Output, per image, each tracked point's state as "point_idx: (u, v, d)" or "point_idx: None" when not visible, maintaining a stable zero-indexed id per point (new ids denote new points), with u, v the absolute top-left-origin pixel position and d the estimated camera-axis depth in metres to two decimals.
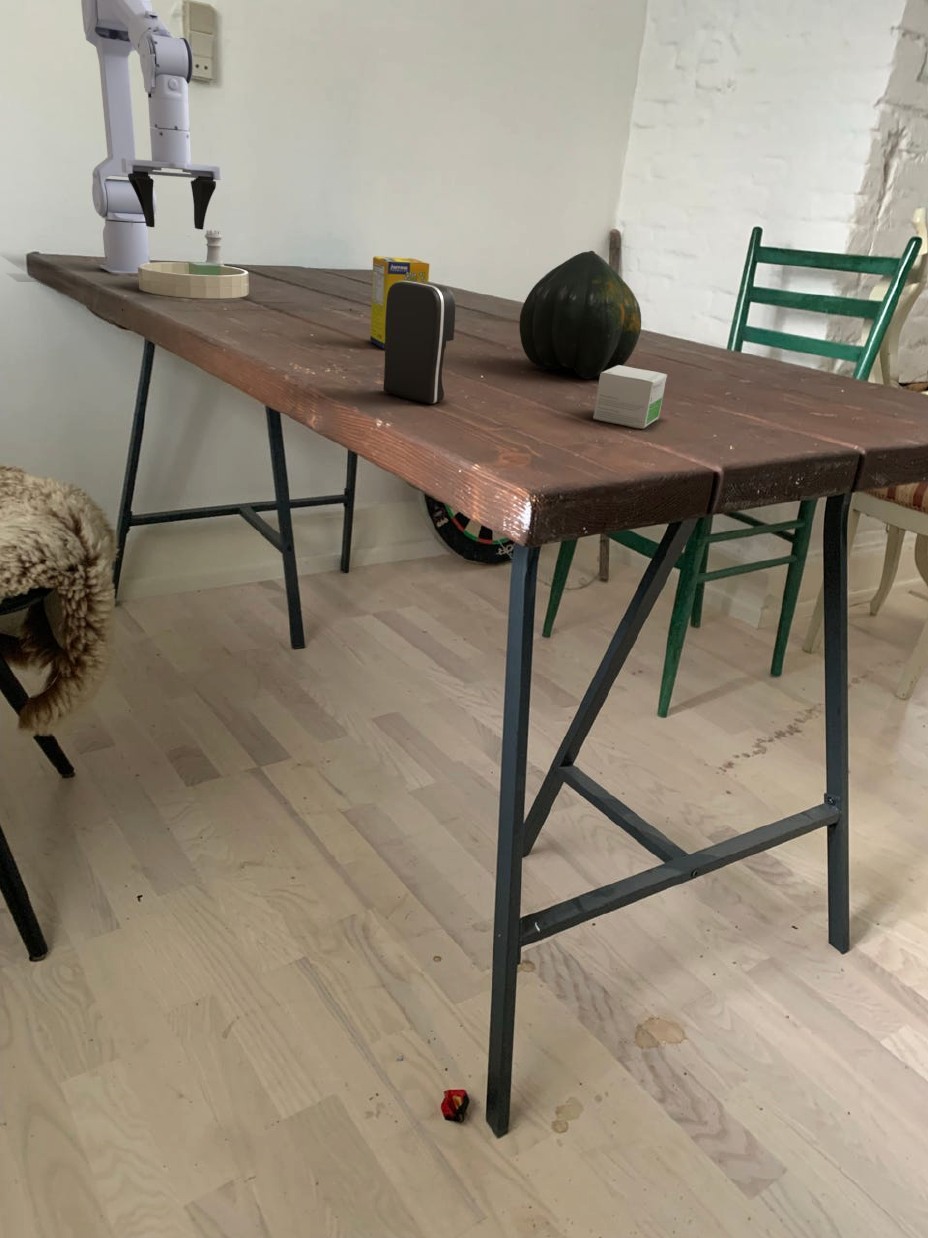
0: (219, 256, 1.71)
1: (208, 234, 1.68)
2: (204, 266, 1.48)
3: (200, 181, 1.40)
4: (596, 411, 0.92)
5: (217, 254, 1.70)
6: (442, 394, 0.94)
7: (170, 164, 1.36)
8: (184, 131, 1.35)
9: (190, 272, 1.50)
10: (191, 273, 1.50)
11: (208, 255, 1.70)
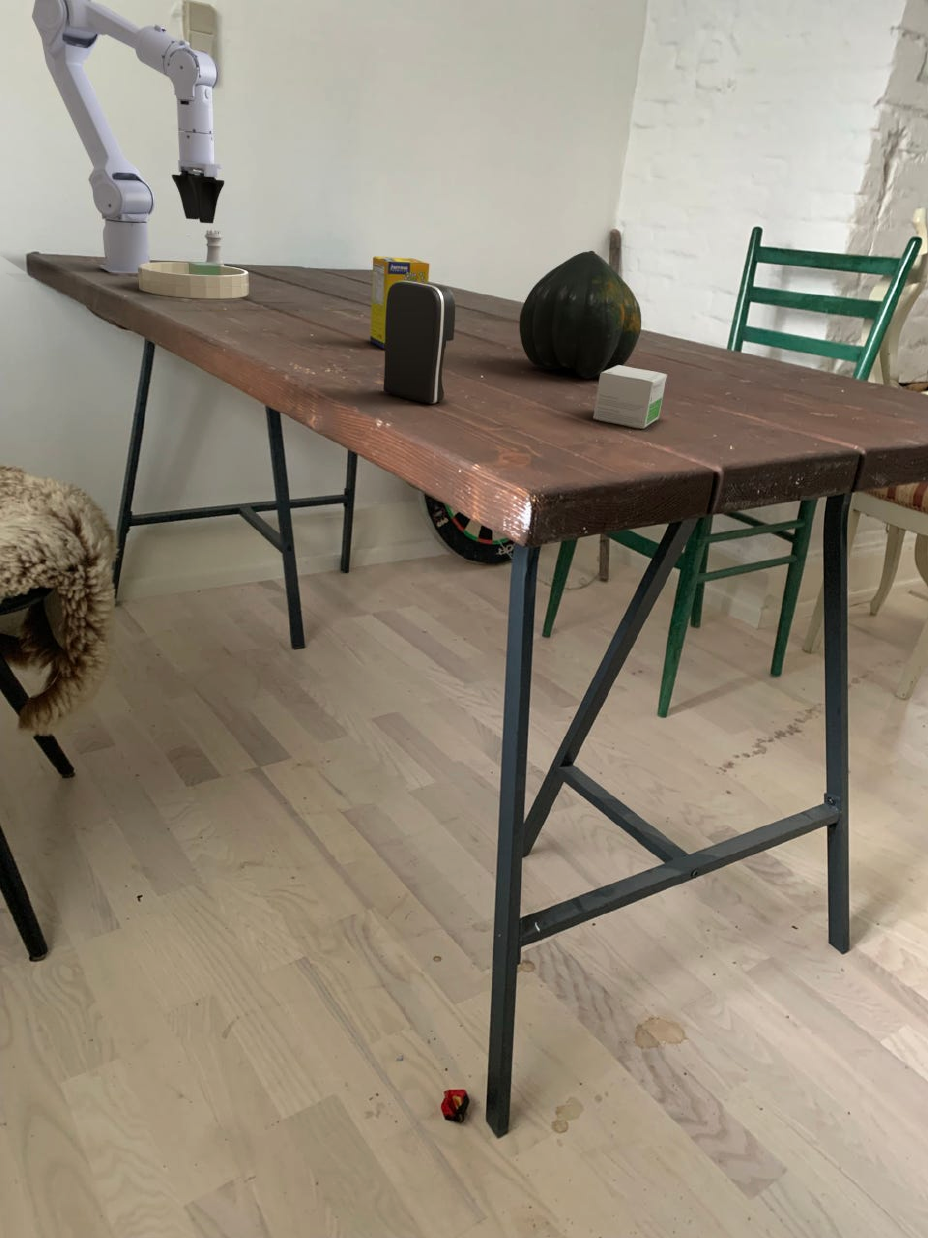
0: (219, 256, 1.71)
1: (208, 234, 1.68)
2: (204, 266, 1.48)
3: None
4: (596, 411, 0.92)
5: (217, 254, 1.70)
6: (442, 394, 0.94)
7: (216, 165, 1.55)
8: None
9: (190, 272, 1.50)
10: (191, 273, 1.50)
11: (208, 255, 1.70)
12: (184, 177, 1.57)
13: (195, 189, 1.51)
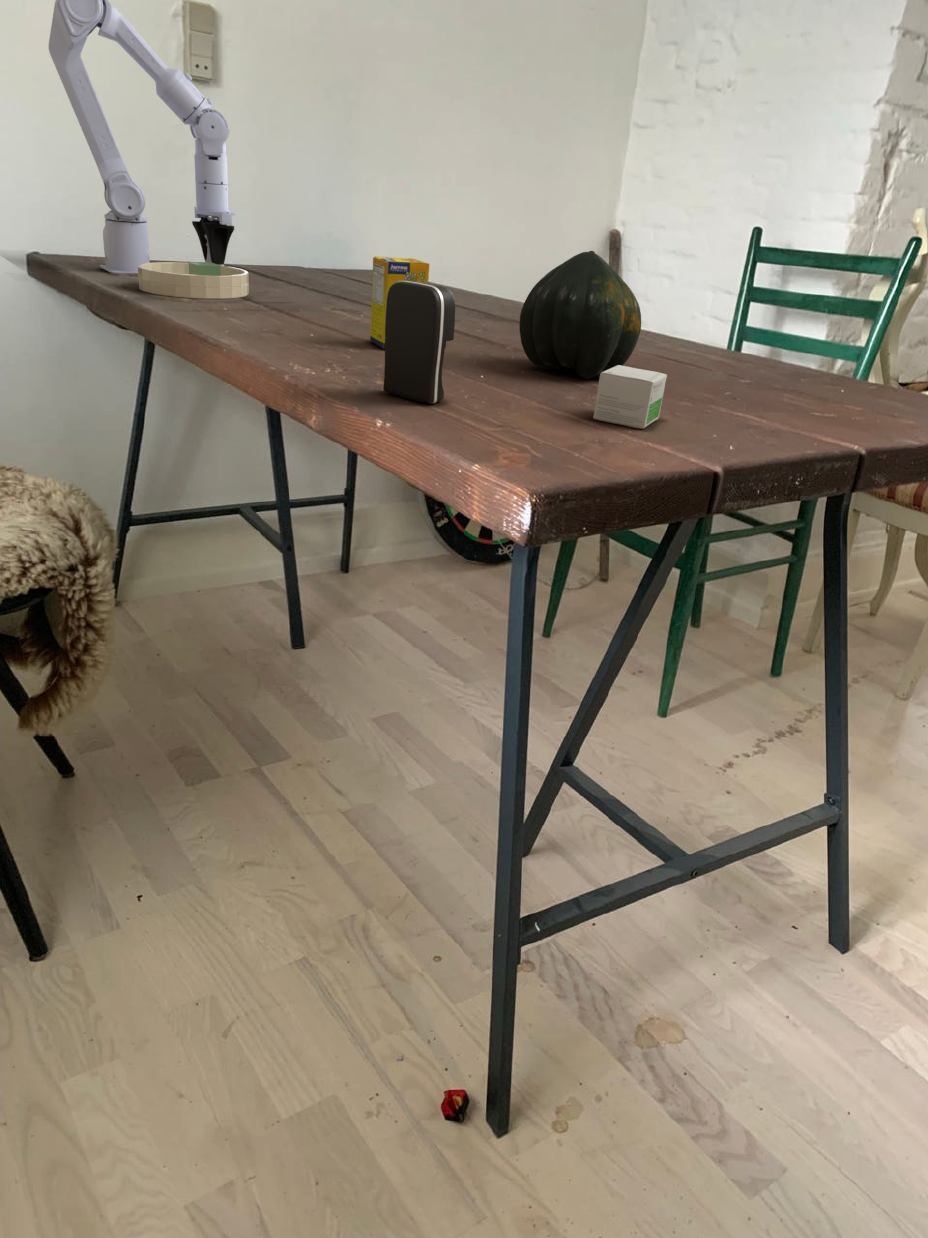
0: None
1: None
2: (204, 266, 1.48)
3: None
4: (596, 411, 0.92)
5: None
6: (442, 394, 0.94)
7: (230, 212, 1.69)
8: None
9: (190, 272, 1.50)
10: (191, 273, 1.50)
11: (208, 255, 1.70)
12: None
13: (208, 234, 1.66)
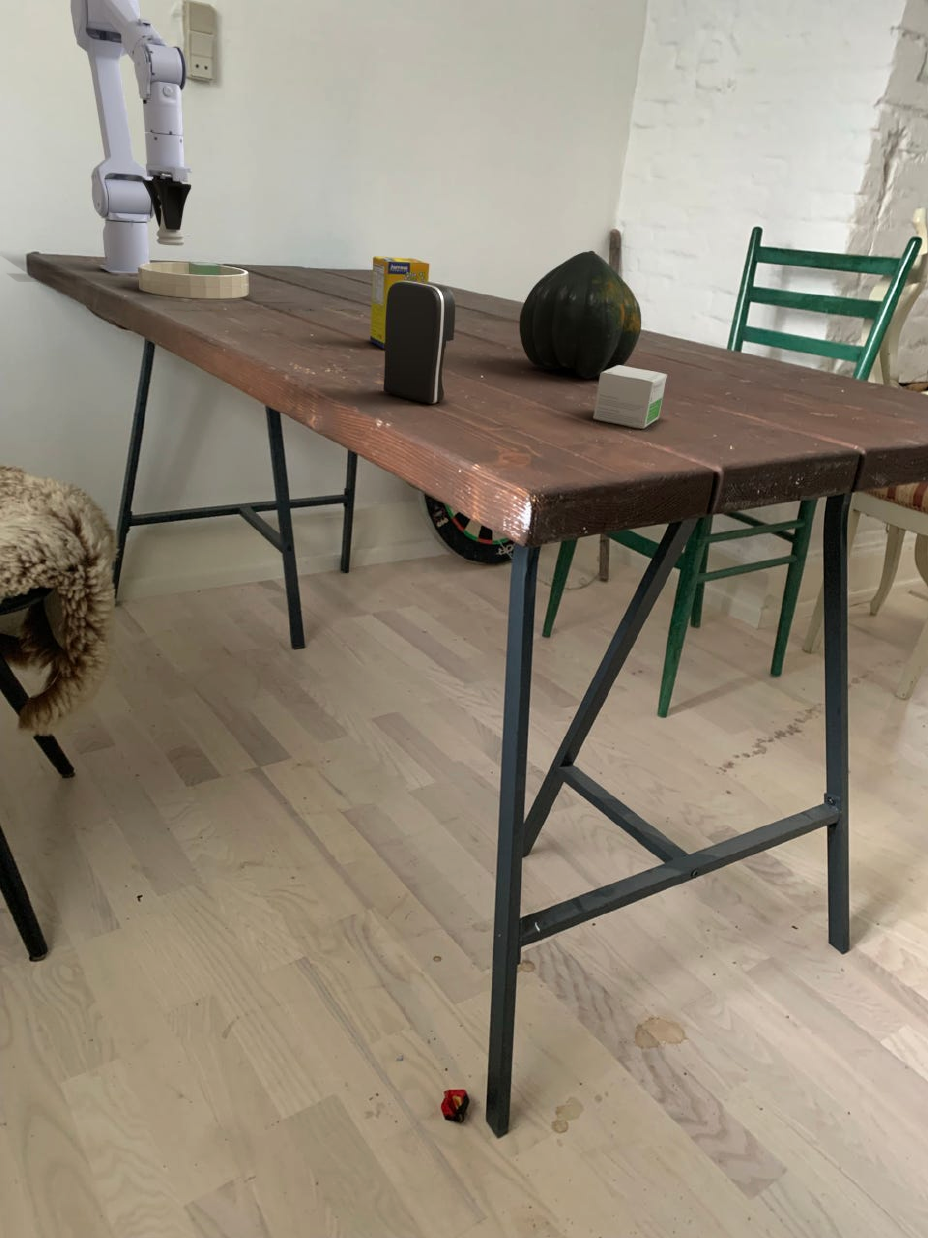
0: None
1: None
2: (204, 266, 1.48)
3: None
4: (596, 411, 0.92)
5: None
6: (442, 394, 0.94)
7: (187, 169, 1.45)
8: None
9: (190, 272, 1.50)
10: (191, 273, 1.50)
11: (162, 219, 1.47)
12: None
13: (160, 194, 1.42)
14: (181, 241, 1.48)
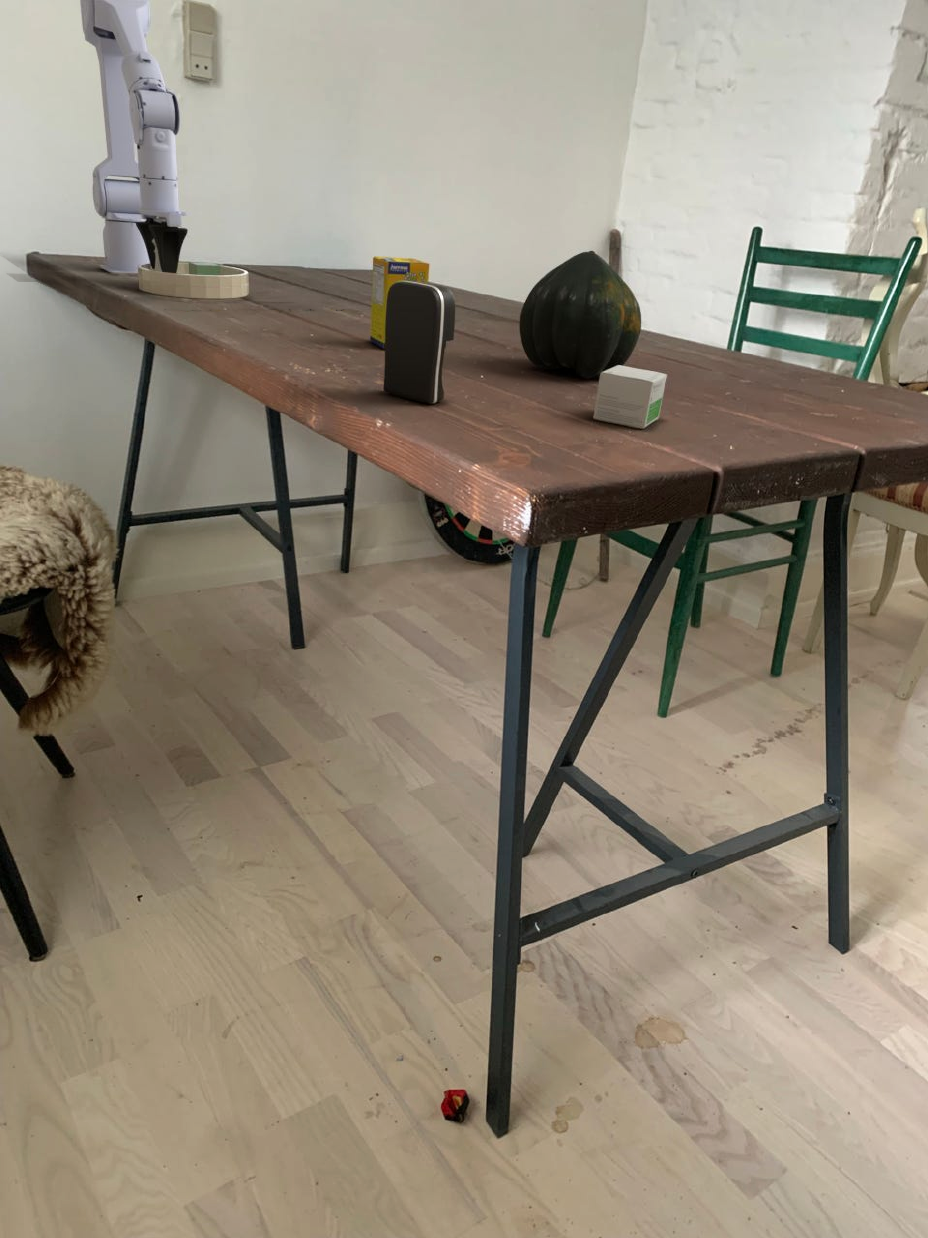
0: None
1: None
2: (204, 266, 1.48)
3: None
4: (596, 411, 0.92)
5: None
6: (442, 394, 0.94)
7: (181, 212, 1.44)
8: None
9: (190, 272, 1.50)
10: (191, 273, 1.50)
11: (156, 263, 1.46)
12: (149, 225, 1.46)
13: (156, 239, 1.41)
14: None
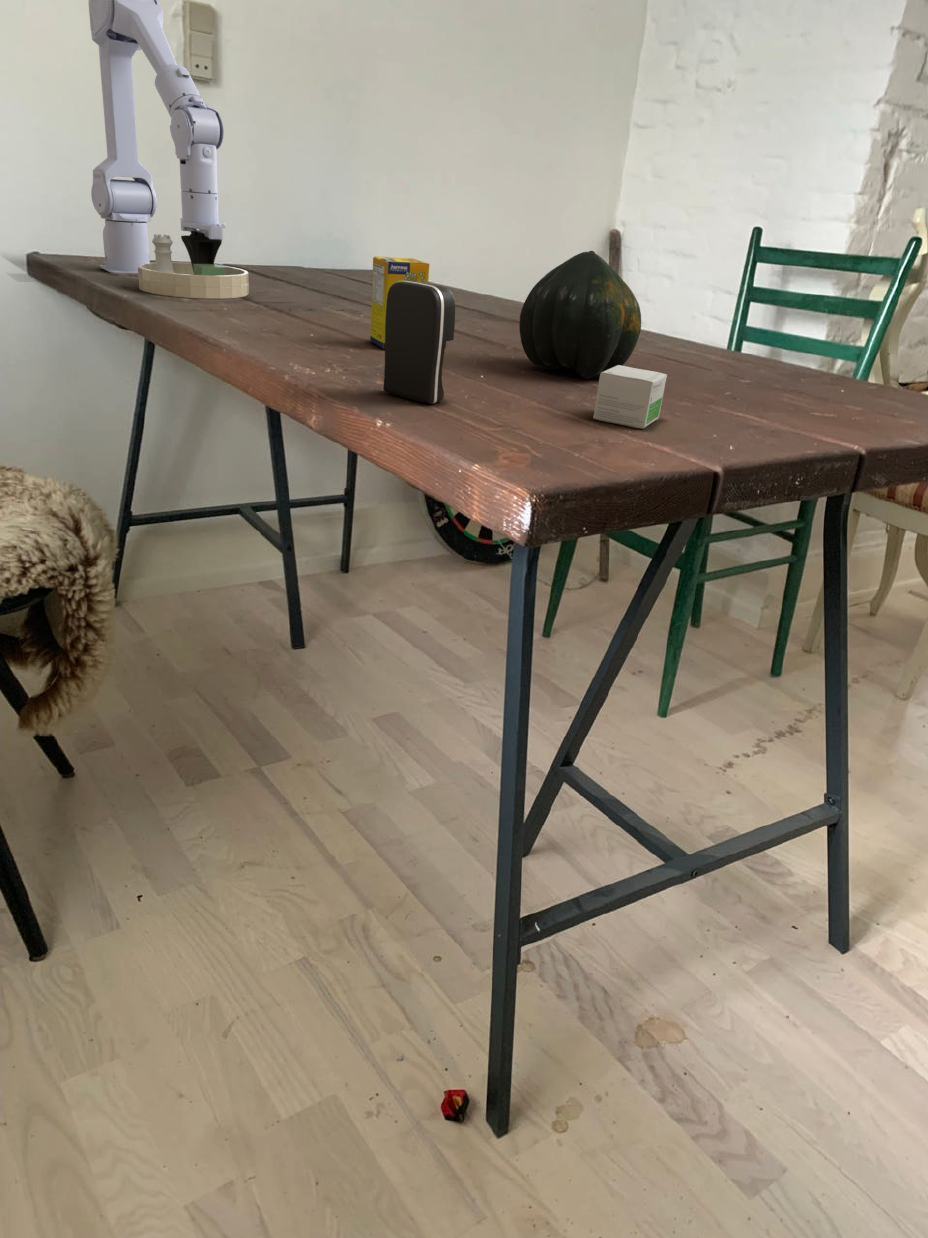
0: (169, 264, 1.47)
1: (156, 239, 1.45)
2: (209, 268, 1.46)
3: None
4: (596, 411, 0.92)
5: (167, 263, 1.46)
6: (442, 394, 0.94)
7: (221, 225, 1.49)
8: None
9: (195, 274, 1.49)
10: None
11: (156, 263, 1.46)
12: None
13: (192, 249, 1.47)
14: None
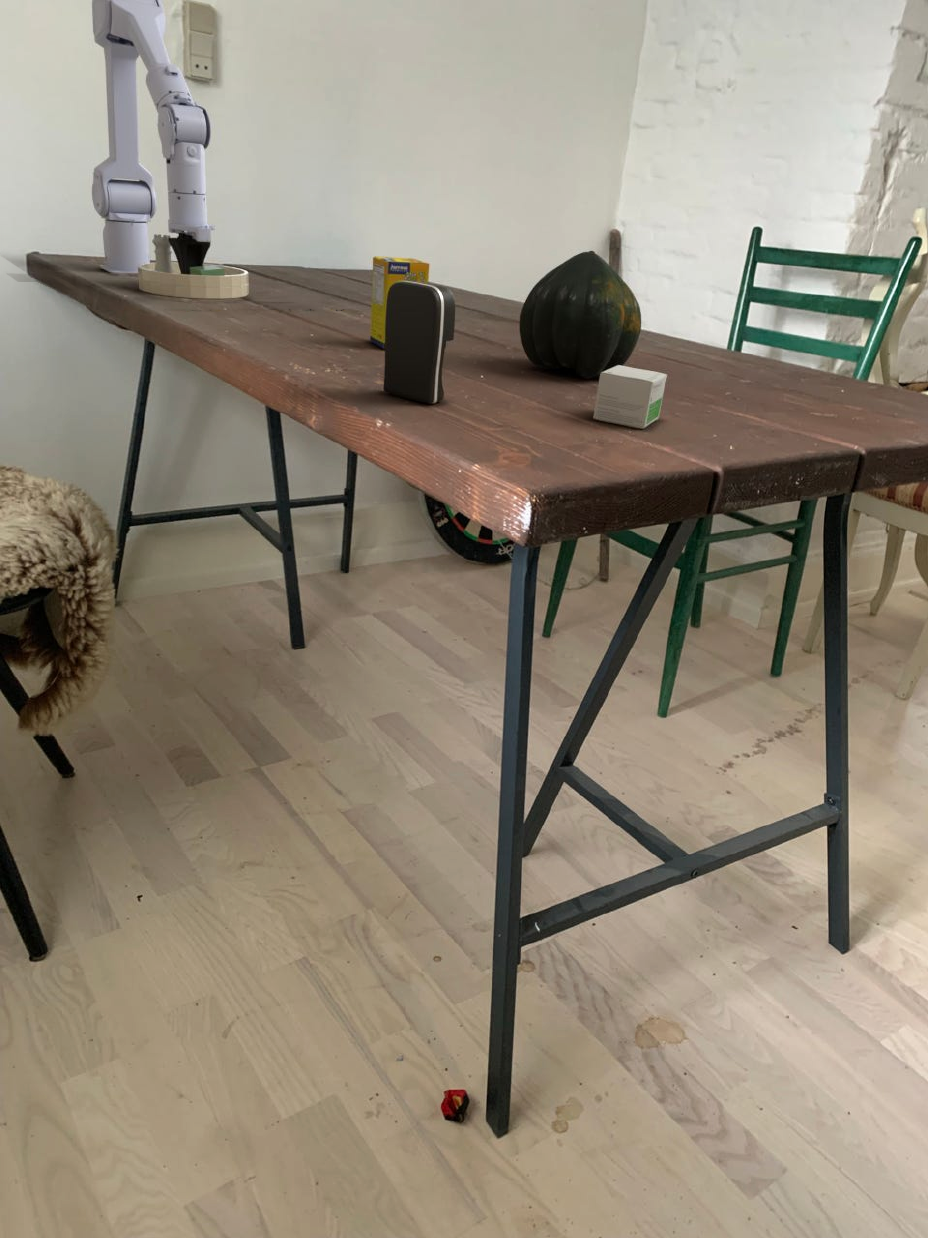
0: (169, 264, 1.47)
1: (156, 239, 1.45)
2: (208, 271, 1.42)
3: None
4: (596, 411, 0.92)
5: (167, 263, 1.46)
6: (442, 394, 0.94)
7: (209, 227, 1.44)
8: None
9: None
10: None
11: (156, 263, 1.46)
12: None
13: (179, 252, 1.42)
14: None
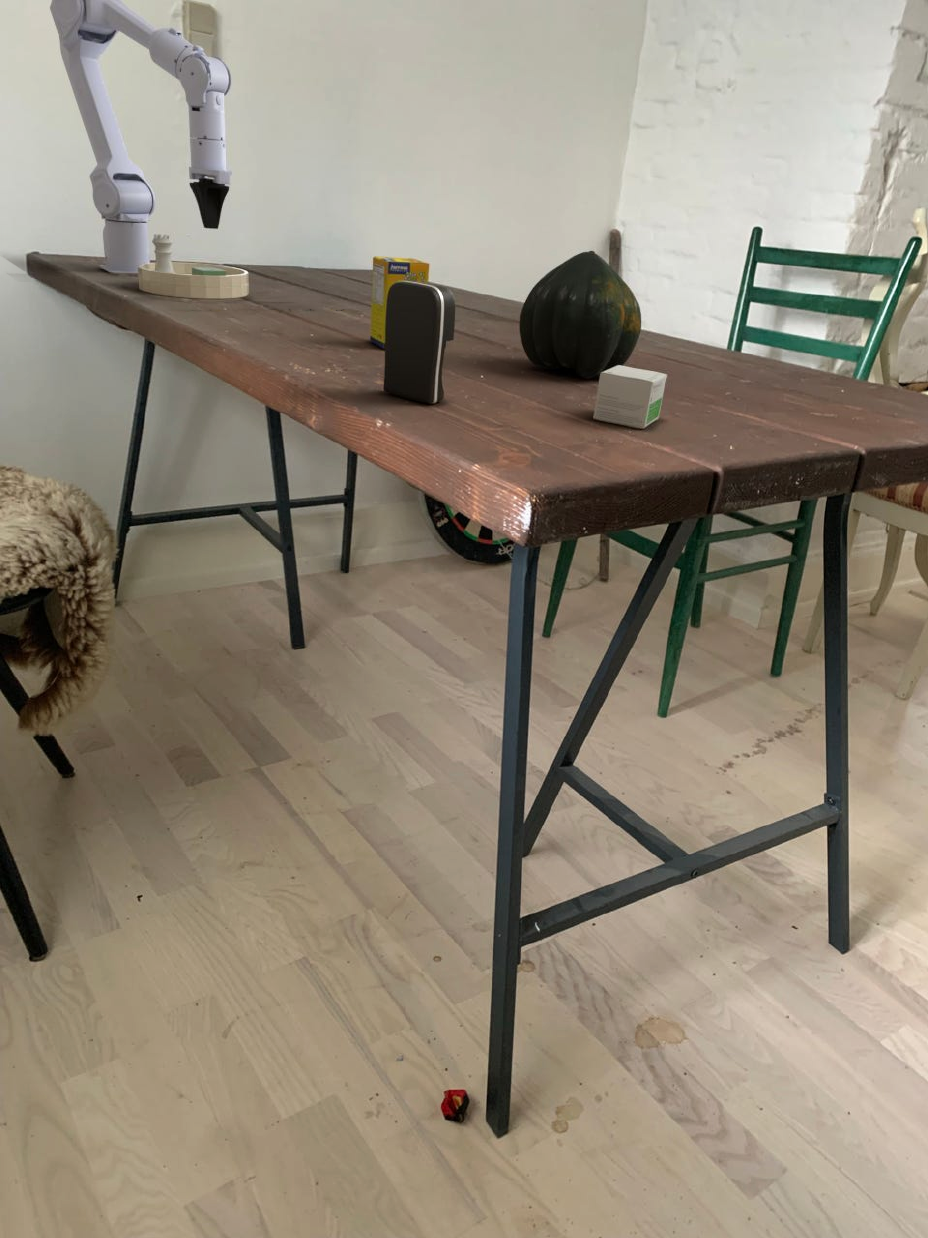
0: (169, 264, 1.47)
1: (156, 239, 1.45)
2: (210, 271, 1.42)
3: None
4: (596, 411, 0.92)
5: (167, 263, 1.46)
6: (442, 394, 0.94)
7: (228, 172, 1.53)
8: None
9: None
10: None
11: (156, 263, 1.46)
12: None
13: (200, 195, 1.52)
14: None
